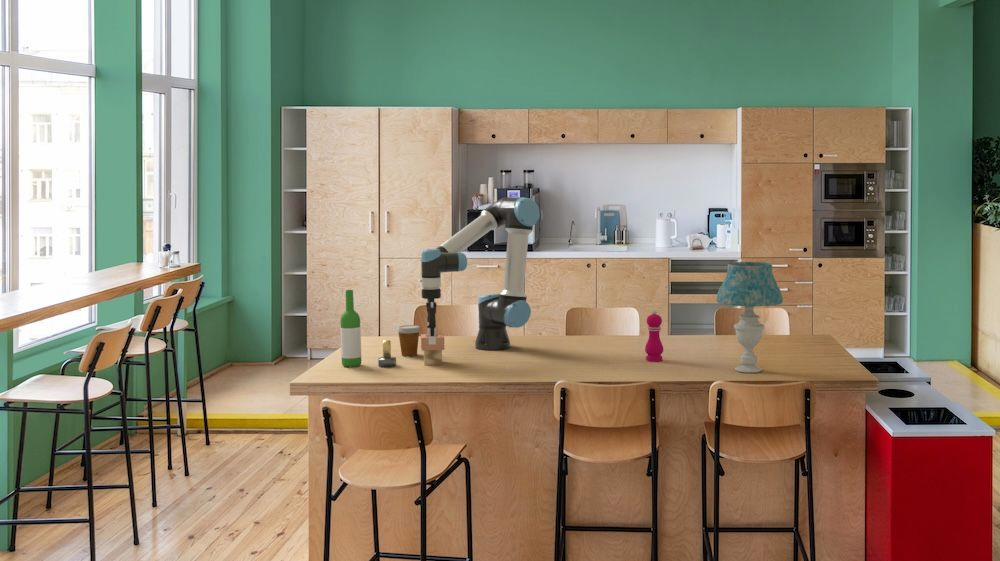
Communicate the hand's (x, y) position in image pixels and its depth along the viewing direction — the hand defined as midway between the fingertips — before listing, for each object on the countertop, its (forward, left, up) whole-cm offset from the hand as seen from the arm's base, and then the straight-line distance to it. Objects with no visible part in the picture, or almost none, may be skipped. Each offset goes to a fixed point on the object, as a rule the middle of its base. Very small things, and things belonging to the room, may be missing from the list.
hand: (431, 341), depth 391 cm
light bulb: (+18, +2, -9) cm, 20 cm away
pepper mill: (-87, +11, -9) cm, 88 cm away
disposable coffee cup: (+9, -19, -9) cm, 23 cm away
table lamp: (-116, +37, -9) cm, 122 cm away
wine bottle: (+32, -1, -9) cm, 33 cm away
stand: (0, 0, -9) cm, 9 cm away
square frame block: (0, 0, -3) cm, 3 cm away
